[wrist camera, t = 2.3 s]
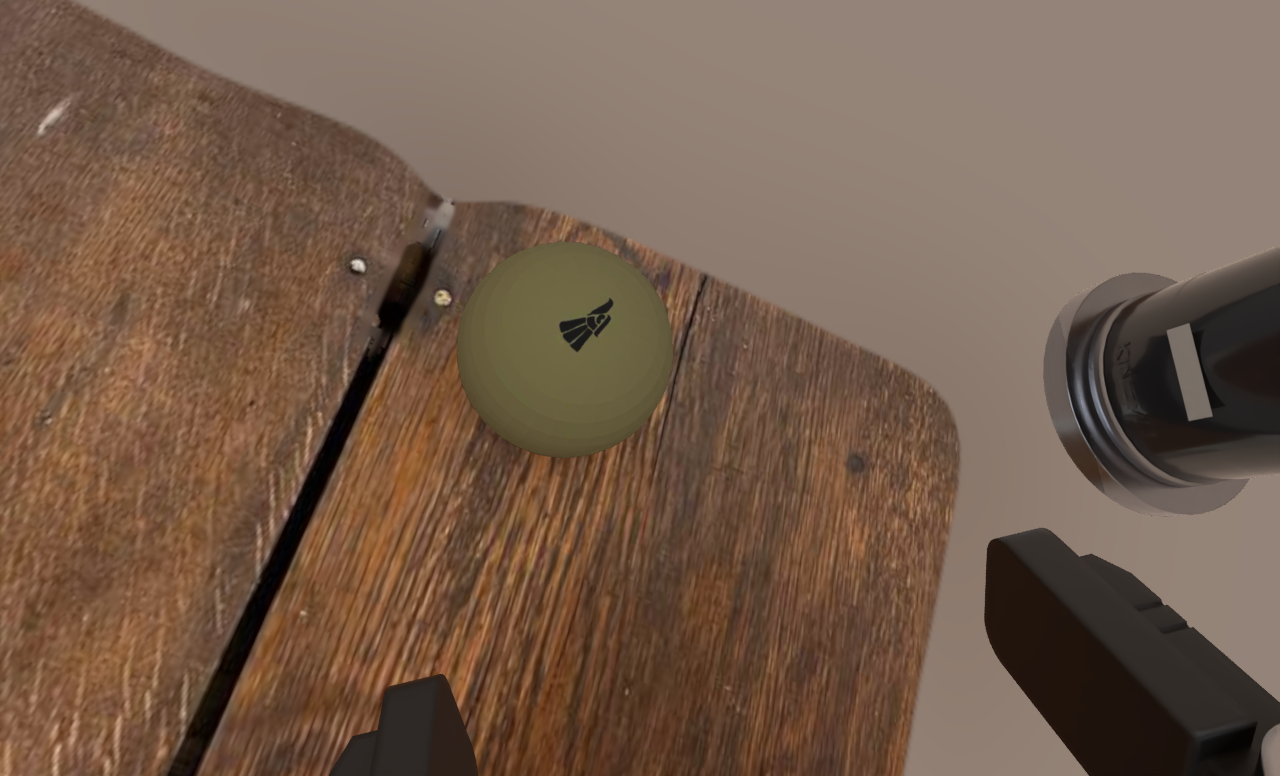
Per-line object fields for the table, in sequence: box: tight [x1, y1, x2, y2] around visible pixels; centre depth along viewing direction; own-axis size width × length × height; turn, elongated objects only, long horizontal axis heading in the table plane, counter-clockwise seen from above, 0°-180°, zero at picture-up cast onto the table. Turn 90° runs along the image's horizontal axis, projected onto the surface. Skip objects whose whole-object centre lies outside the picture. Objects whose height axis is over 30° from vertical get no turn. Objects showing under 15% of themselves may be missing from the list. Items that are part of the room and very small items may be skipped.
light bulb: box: [457, 242, 673, 458], centre depth 22 cm, size 6×6×10 cm
